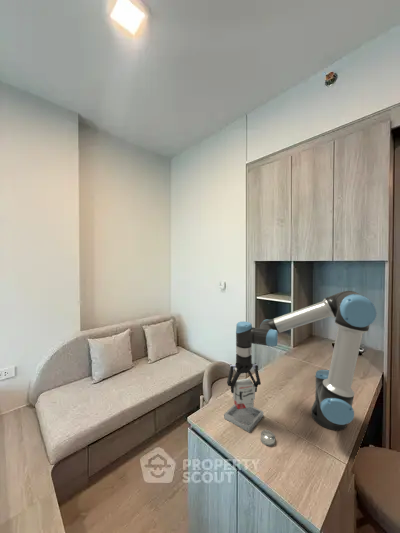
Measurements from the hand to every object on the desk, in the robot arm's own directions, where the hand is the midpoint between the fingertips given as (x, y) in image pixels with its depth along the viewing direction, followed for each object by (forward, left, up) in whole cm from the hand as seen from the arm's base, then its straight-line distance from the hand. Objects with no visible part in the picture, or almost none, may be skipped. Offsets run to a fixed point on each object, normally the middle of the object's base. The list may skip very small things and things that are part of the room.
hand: (243, 398), depth 111 cm
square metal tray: (0, 0, -10) cm, 10 cm away
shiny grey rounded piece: (-15, +5, -10) cm, 19 cm away
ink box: (0, 0, -4) cm, 4 cm away
